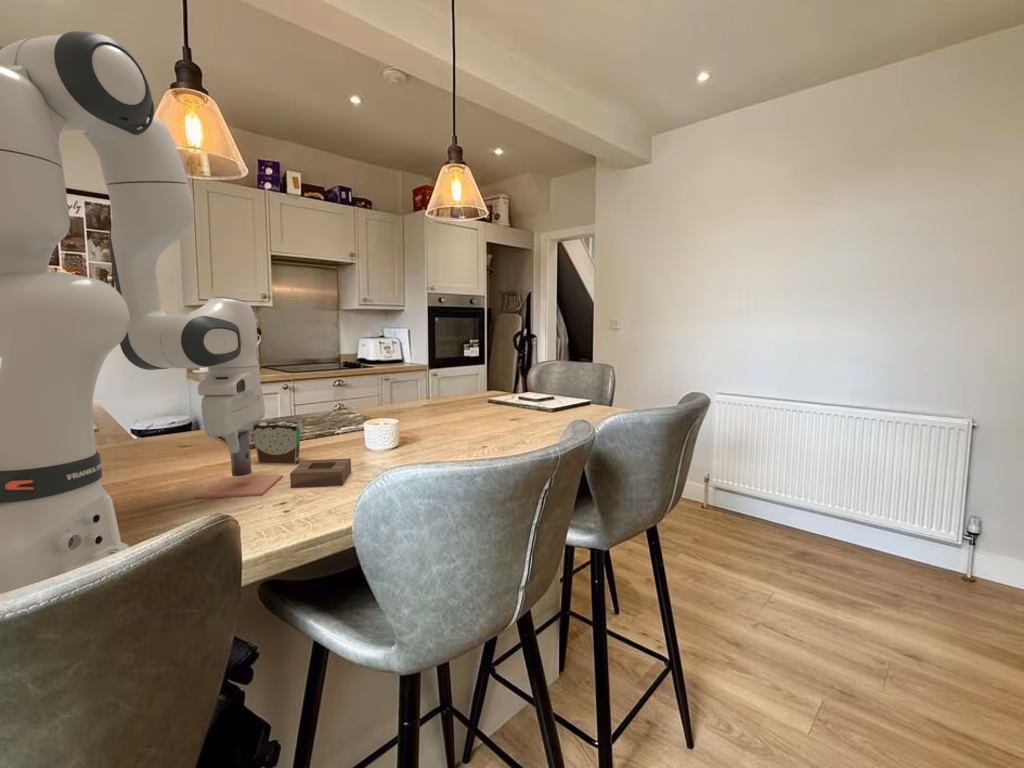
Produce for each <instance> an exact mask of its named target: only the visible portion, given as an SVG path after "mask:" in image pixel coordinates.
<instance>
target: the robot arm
mask: <svg viewBox="0 0 1024 768" xmlns="http://www.w3.org/2000/svg"><path fill="white" fill-rule="evenodd" d="M138 63H139V62H137V60H136V59H135V58H134V57H133V55H132V54H131V53H130V52H129V51H128V49H126V48H125V47H124V46H123V45H122V44H120V42H118V41H117V40H114V39H113V38H111V37H109V36H108V35H107V36H106V35H103V34H100V33H97V32H91V31H79V30H78V31H68V32H66V33H63V34H51V35H43V36H41V35H38V36H37V35H36V36H35V35H34V36H31V37H27V38H24V39H20V40H17V41H15V42H12V43H10V44H9V45H1V46H0V358H1V363H0V593H3V592H7V591H10V590H14V589H17V588H21V587H24V586H27V585H30V584H33V583H36V582H39V581H42V580H45V579H48V578H51V577H54V576H57V575H59V574H62V573H65V572H67V571H70V570H72V569H76V568H78V567H81V566H84V565H86V564H89V563H92V562H94V561H96V560H99V559H101V558H104V557H106V556H109V555H112V554H114V553H117V552H119V551H121V550H123V549H125V548H128V547H129V548H130V546H129V544H127V543H125V542H122V541H121V535H120V530H119V526H118V525H119V524H118V521H117V520H118V519H117V517H116V512H115V507H114V502H113V499H112V497H111V496H110V494H109V493H107V491H106V490H105V489H104V488H103V486H102V483H101V478H102V477H103V461H102V460H101V455H100V452H98V451H96V441H95V428H94V411H93V410H94V409H93V408H94V407H93V405H94V403H93V401H94V393H95V387H96V383H97V380H98V377H99V374H100V371H101V369H102V366H103V364H104V362H105V361H106V359H107V357H108V356H109V354H110V353H111V352H112V351H113V350H114V349H115V348H117V347H118V345H119V346H120V349H121V351H122V353H123V355H124V357H125V358H126V359H127V360H128V361H129V362H130V363H131V364H132V365H133V366H135V367H137V368H140V369H142V370H146V371H147V370H148V371H156V370H166V369H207V371H208V373H206V376H205V377H204V379H202V380H201V382H199V383H198V385H197V394H198V395H199V396H200V397H201V396H202V398H201V405H200V406H201V418H202V424H203V429H204V432H205V434H206V435H207V437H210V438H216V437H218V438H219V437H223V438H224V440H225V443H226V444H227V448H228V453H237V452H239V451H240V450H241V442H239V441H238V437H237V435H238V430H240V429H242V428H244V427H245V426H246V425H248V424H251V430H249V441H250V445H252V441H251V436H252V434H253V431H252V428H253V426H252V423H254V422H257V421H261V419H263V418H265V413H266V411H265V410H266V409H265V399H264V393H263V389H262V387H261V384H262V383H261V373H260V363H259V359H258V357H257V349H258V345H259V340H258V339H259V338H258V329H257V323H256V317H255V314H254V311H253V308H252V305H250V303H248V302H246V301H244V300H241V299H238V298H233V297H227V296H225V297H224V296H216V297H214V296H213V297H209V298H208V299H207V301H206V303H205V304H204V305H202V306H201V307H199V308H197V309H195V310H192V311H190V312H187V314H186V313H185V314H172V315H170V314H169V315H168V314H166V312H165V311H164V310H163V308H162V304H161V298H160V291H159V284H158V283H159V282H158V277H157V270H156V269H157V263H158V262H157V261H159V258H160V256H161V255H162V253H163V252H164V251H165V250H166V249H168V248H169V247H171V246H172V245H173V244H175V243H176V242H178V241H180V240H181V239H182V238H184V237H185V236H186V234H188V232H189V231H190V230H191V228H192V227H193V224H194V222H195V205H194V200H193V196H192V192H191V189H190V185H189V181H188V178H187V173H186V171H185V167H184V164H183V162H182V159H181V157H180V153H179V151H178V148H177V145H176V144H175V142H174V141H175V140H174V139H173V137H172V134H171V133H170V131H169V128H168V126H167V124H165V122H163V120H161V119H160V118H159V117H158V116H157V115H155V105H154V101H153V97H152V92H151V88H150V86H149V83H148V80H147V78H146V75H145V74H144V71H143V69H142V68H141V66H140V64H138ZM63 131H68V132H69V131H82V134H83V136H84V137H85V138H86V139H87V140H88V142H89V143H90V144H91V145H92V147H93V148H94V150H95V152H96V154H97V155H98V157H99V162H100V167H101V172H102V175H103V179H104V183H105V185H106V190H107V193H108V197H109V203H110V208H111V209H110V210H111V227H110V230H109V232H108V249H109V250H108V251H109V256H110V257H109V258H110V263H111V268H112V269H111V270H112V275H113V280H114V281H113V282H114V286H115V288H114V287H113V286H112V285H110V284H109V283H107V282H105V281H103V280H100V279H96V278H94V277H93V278H92V277H88V276H83V275H80V274H79V275H78V274H74V273H73V274H72V273H67V272H63V271H62V272H61V271H58V272H57V271H56V272H55V271H54V272H48V268H49V264H50V261H51V259H52V255H53V253H54V251H55V249H56V247H57V245H59V243H60V242H62V240H64V239H65V238H66V236H67V235H68V233H69V232H70V228H71V220H70V211H69V203H68V198H67V197H68V195H67V188H66V181H65V173H64V165H63V159H62V153H61V149H60V145H59V144H60V143H59V140H60V134H61V132H63Z"/></svg>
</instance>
